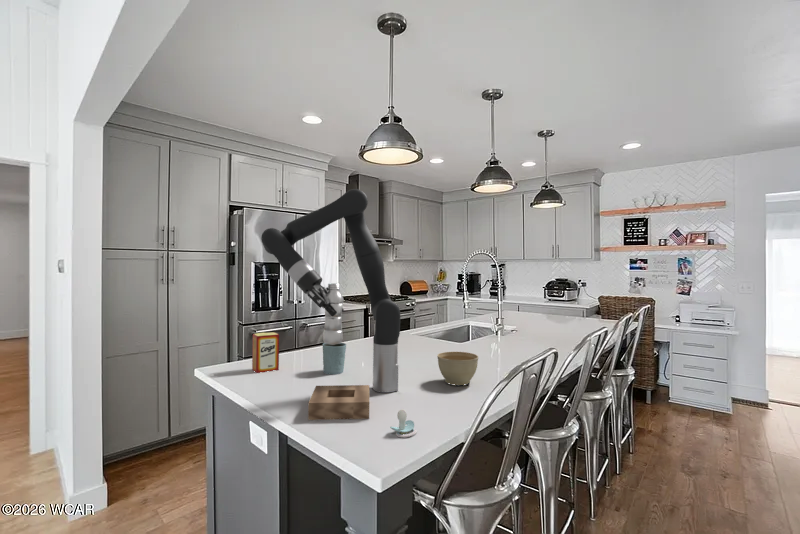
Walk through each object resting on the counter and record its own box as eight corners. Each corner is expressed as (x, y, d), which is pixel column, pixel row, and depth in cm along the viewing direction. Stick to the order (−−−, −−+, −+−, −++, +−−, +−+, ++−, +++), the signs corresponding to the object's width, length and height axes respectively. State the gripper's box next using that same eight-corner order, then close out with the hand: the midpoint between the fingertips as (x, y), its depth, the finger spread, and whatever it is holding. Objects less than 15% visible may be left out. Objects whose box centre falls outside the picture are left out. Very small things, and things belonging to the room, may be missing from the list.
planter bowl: (476, 377, 163) (476, 351, 163) (480, 390, 147) (480, 360, 147) (437, 376, 164) (437, 350, 164) (436, 388, 148) (437, 359, 148)
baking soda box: (274, 366, 176) (274, 331, 176) (278, 370, 171) (279, 333, 171) (252, 369, 171) (252, 333, 171) (256, 373, 165) (256, 335, 166)
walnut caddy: (369, 399, 134) (369, 385, 134) (369, 418, 117) (369, 402, 117) (315, 400, 133) (316, 385, 133) (308, 419, 116) (308, 403, 116)
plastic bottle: (333, 341, 133) (334, 283, 133) (347, 344, 129) (348, 283, 129) (318, 344, 128) (319, 283, 128) (332, 347, 124) (333, 284, 124)
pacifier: (421, 434, 108) (406, 426, 112) (422, 411, 108) (407, 404, 112) (401, 441, 103) (387, 433, 107) (402, 418, 103) (387, 410, 107)
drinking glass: (321, 369, 173) (321, 342, 173) (343, 368, 176) (344, 341, 176) (323, 375, 163) (323, 346, 163) (347, 374, 166) (348, 345, 166)
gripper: (303, 268, 123) (339, 307, 121) (320, 268, 137) (352, 303, 135) (287, 285, 124) (322, 324, 122) (306, 283, 138) (338, 318, 136)
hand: (338, 313), depth 128 cm, fingers closed on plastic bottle, 6 cm apart
